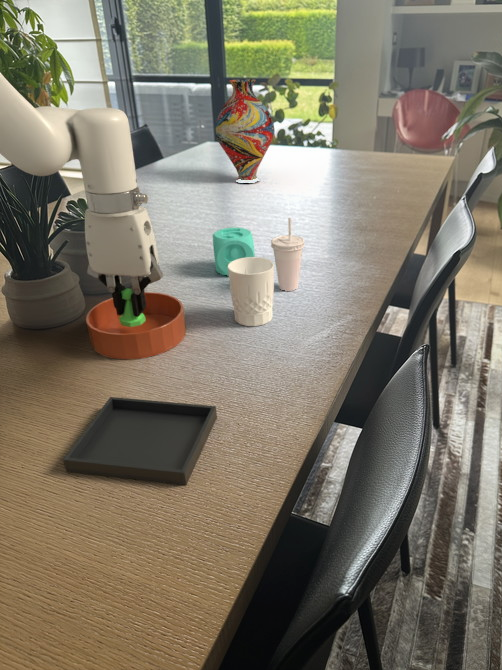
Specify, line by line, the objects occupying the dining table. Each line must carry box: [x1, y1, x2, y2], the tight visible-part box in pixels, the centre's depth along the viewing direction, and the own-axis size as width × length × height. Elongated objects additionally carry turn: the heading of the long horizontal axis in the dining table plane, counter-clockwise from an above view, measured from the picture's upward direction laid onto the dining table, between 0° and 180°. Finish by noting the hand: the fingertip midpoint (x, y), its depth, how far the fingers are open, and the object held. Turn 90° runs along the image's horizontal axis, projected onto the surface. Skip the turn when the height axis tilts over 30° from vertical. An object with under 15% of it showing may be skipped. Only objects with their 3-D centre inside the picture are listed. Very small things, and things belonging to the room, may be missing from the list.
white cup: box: [228, 256, 275, 327], centre depth 96 cm, size 8×8×10 cm
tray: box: [62, 396, 218, 486], centre depth 69 cm, size 15×13×2 cm
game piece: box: [119, 287, 146, 327], centre depth 91 cm, size 4×4×6 cm
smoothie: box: [270, 217, 305, 292], centre depth 106 cm, size 6×6×14 cm
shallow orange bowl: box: [85, 291, 187, 360], centre depth 93 cm, size 16×16×4 cm
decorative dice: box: [212, 227, 256, 277], centre depth 116 cm, size 8×8×8 cm
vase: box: [215, 78, 275, 180], centre depth 176 cm, size 19×19×30 cm
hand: (131, 311), depth 91 cm, fingers closed on game piece, 2 cm apart
